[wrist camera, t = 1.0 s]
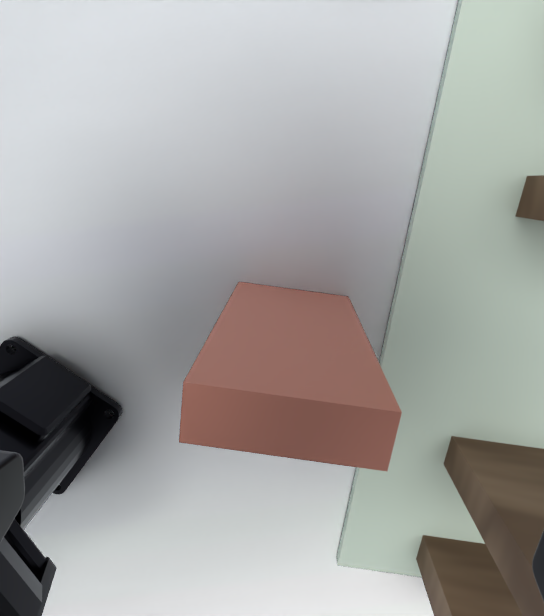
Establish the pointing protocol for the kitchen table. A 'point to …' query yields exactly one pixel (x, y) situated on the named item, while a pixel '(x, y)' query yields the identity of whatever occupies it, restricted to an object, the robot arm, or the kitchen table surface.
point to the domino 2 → (463, 579)
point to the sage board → (463, 291)
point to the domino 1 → (504, 507)
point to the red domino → (290, 382)
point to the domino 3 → (532, 199)
